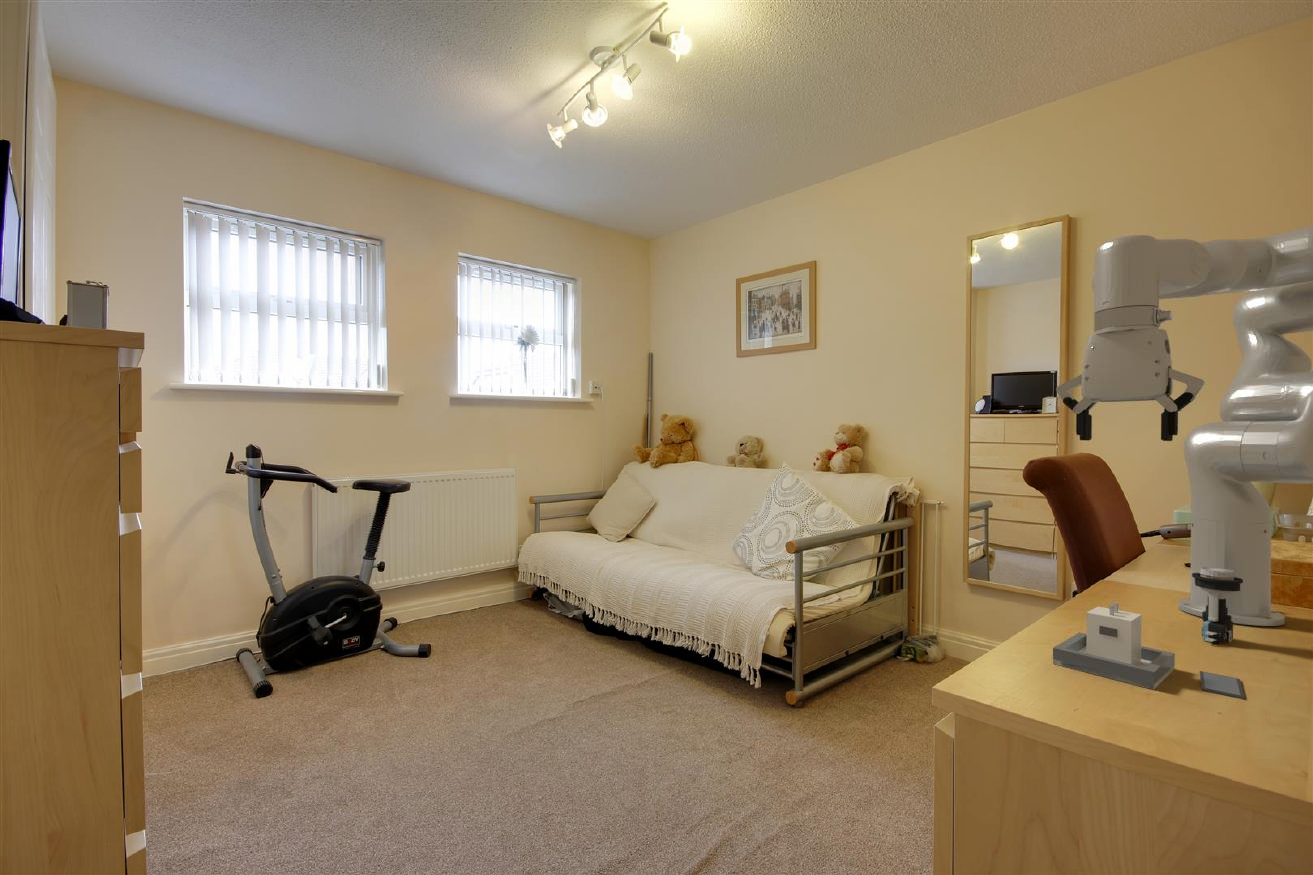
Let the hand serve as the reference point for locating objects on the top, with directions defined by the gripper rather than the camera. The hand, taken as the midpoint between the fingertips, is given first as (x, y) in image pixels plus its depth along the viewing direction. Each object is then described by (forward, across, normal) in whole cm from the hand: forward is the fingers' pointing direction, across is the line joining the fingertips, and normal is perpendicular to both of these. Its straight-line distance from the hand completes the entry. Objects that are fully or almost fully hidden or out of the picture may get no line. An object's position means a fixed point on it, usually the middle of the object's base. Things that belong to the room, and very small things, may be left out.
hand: (1124, 440), depth 88 cm
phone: (+29, -12, +14) cm, 34 cm away
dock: (+28, -3, +17) cm, 33 cm away
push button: (+28, -9, -7) cm, 31 cm away
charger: (+28, -3, +17) cm, 33 cm away
